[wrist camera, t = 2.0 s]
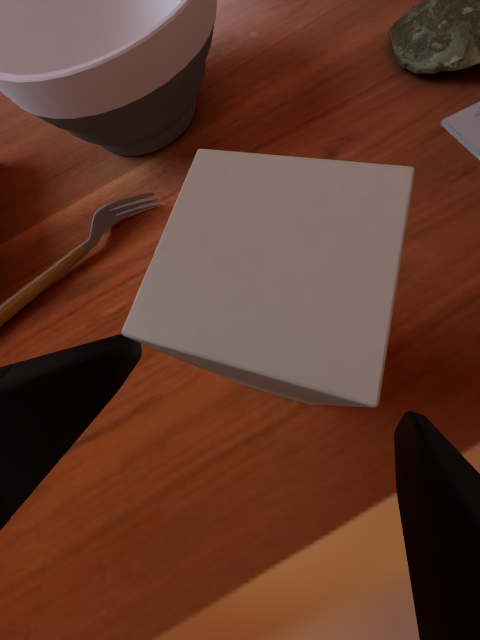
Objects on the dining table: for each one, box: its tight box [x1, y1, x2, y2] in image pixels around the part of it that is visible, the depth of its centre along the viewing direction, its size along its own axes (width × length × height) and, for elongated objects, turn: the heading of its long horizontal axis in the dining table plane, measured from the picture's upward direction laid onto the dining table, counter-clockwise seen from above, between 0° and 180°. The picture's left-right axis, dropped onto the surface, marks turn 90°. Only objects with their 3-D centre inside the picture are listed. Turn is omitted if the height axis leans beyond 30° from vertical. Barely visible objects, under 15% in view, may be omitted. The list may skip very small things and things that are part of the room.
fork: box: [0, 193, 161, 327], centre depth 23 cm, size 2×2×20 cm
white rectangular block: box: [122, 149, 415, 407], centre depth 12 cm, size 5×5×14 cm
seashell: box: [388, 0, 480, 74], centre depth 23 cm, size 10×7×10 cm
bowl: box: [0, 0, 217, 156], centre depth 24 cm, size 20×20×10 cm
